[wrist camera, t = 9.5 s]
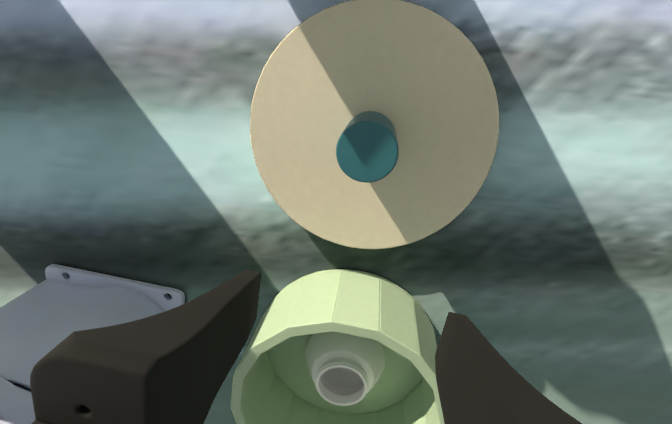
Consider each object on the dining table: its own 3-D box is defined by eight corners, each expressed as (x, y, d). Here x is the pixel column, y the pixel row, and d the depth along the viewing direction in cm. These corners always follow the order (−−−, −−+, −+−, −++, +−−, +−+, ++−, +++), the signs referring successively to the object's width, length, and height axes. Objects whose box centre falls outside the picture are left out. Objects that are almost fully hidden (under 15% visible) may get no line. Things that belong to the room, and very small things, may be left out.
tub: (254, 394, 28) (225, 467, 23) (269, 252, 24) (237, 302, 19) (413, 428, 27) (420, 511, 22) (456, 289, 23) (477, 351, 18)
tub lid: (247, 219, 23) (213, 258, 19) (266, -18, 19) (227, -47, 14) (456, 259, 23) (476, 310, 18) (528, 23, 18) (579, 7, 13)
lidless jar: (364, 308, 24) (294, 333, 25) (361, 339, 21) (283, 365, 22) (397, 369, 25) (329, 390, 26) (398, 406, 22) (322, 427, 24)
